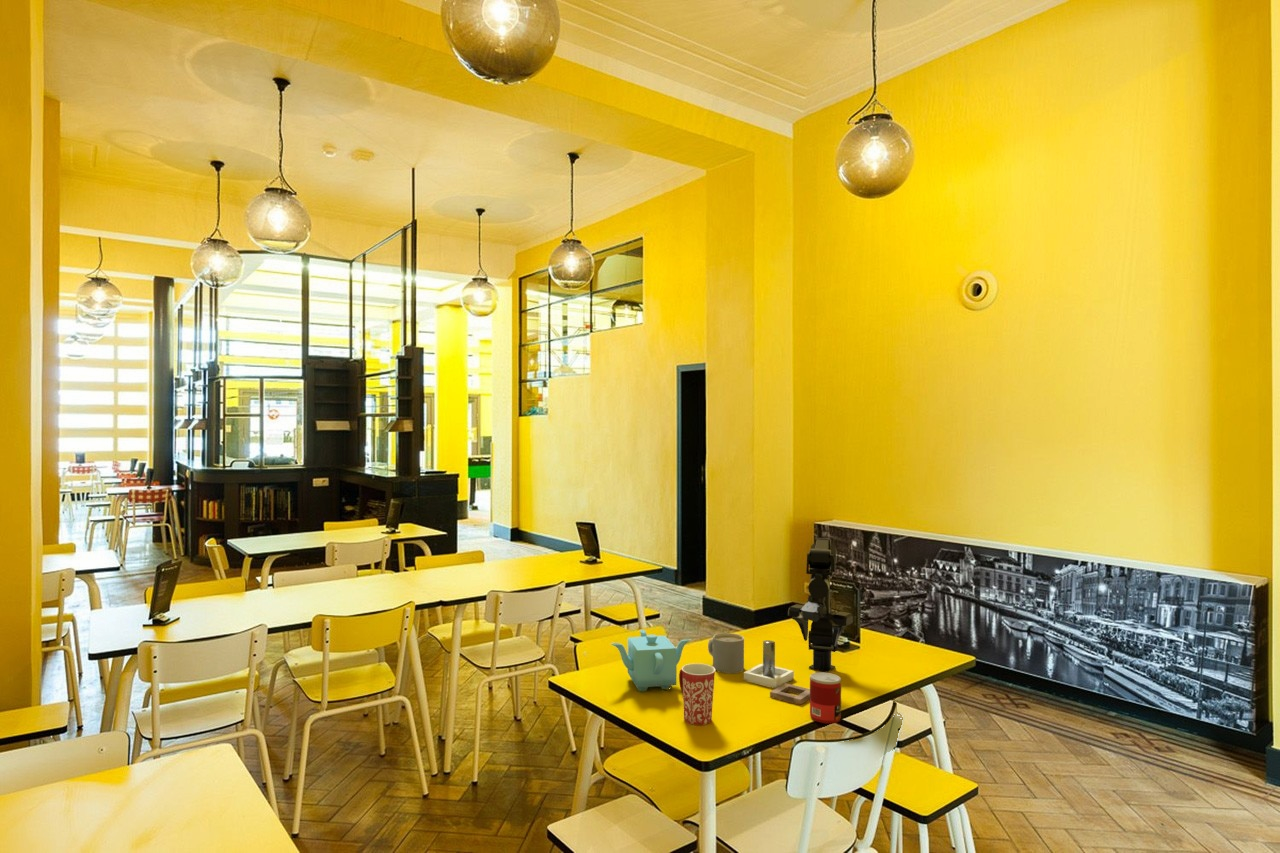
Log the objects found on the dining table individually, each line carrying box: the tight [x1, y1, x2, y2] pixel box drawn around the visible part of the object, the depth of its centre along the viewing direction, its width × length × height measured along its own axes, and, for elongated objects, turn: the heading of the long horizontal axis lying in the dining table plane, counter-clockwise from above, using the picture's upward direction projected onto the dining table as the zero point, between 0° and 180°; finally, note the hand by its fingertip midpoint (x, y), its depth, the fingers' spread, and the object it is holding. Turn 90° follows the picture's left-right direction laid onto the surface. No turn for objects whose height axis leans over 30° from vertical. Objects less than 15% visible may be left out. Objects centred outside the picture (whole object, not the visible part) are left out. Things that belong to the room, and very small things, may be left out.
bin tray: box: [743, 663, 795, 689], centre depth 216 cm, size 11×11×2 cm
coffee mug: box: [707, 632, 745, 674], centre depth 228 cm, size 13×10×10 cm
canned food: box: [809, 671, 842, 725], centre depth 186 cm, size 8×8×11 cm
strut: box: [762, 639, 776, 678], centre depth 216 cm, size 4×4×11 cm
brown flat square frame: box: [769, 683, 810, 706], centre depth 202 cm, size 9×9×2 cm
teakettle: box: [610, 629, 692, 692], centre depth 211 cm, size 19×19×15 cm
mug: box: [678, 662, 717, 726], centre depth 186 cm, size 13×9×14 cm
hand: (819, 643), depth 212 cm, fingers open, 9 cm apart
